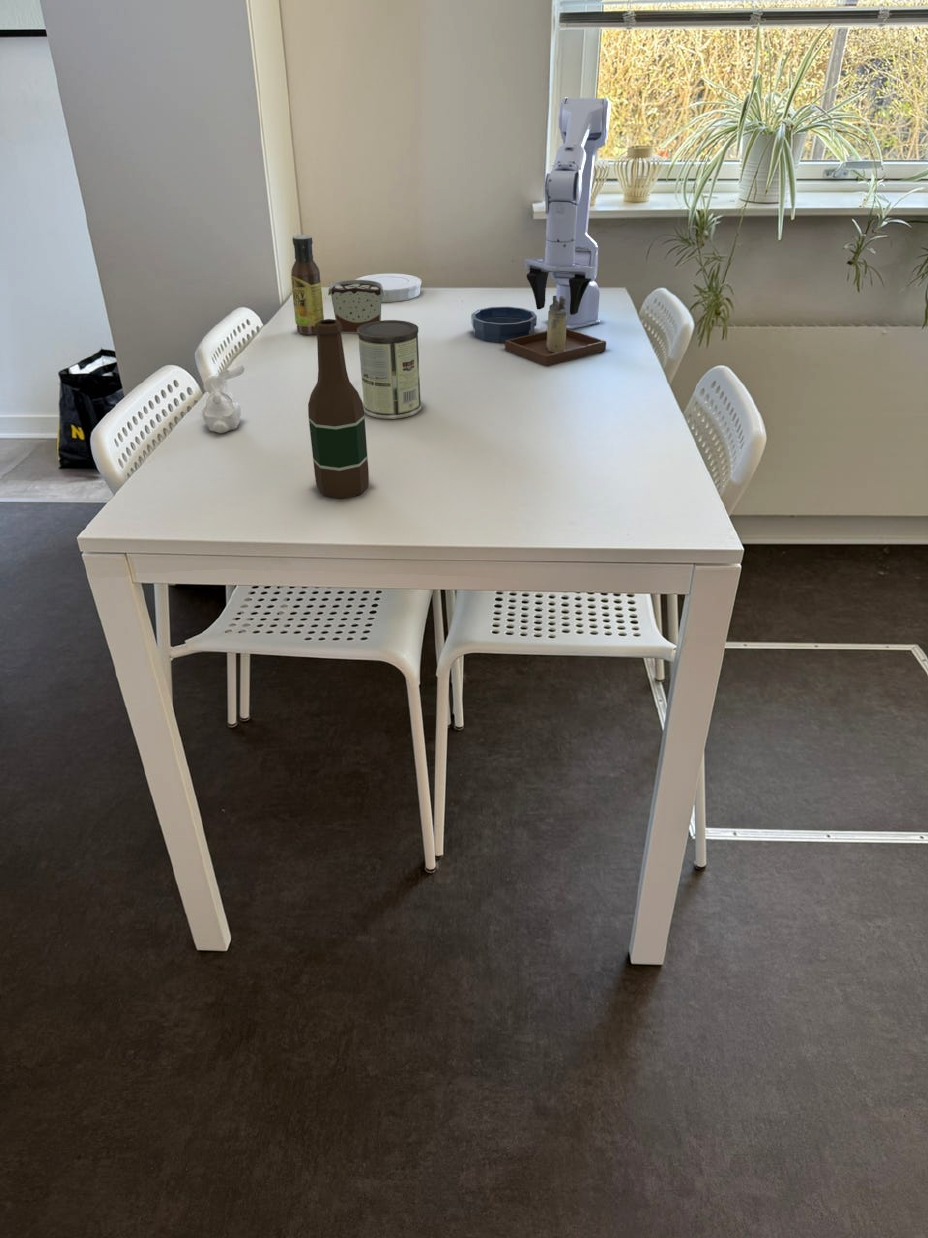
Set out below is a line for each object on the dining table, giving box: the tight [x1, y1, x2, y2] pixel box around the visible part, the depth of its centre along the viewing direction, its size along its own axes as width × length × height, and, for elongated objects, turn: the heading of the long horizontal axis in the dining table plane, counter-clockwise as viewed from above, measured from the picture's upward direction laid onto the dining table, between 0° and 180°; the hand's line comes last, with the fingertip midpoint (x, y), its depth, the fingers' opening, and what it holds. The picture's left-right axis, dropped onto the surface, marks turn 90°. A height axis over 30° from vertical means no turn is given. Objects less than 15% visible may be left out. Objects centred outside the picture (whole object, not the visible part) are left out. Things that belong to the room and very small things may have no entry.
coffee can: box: [356, 319, 422, 420], centre depth 153 cm, size 10×10×14 cm
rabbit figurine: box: [201, 363, 245, 434], centre depth 149 cm, size 12×8×10 cm, turn 9°
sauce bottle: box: [290, 234, 325, 336], centre depth 191 cm, size 6×6×20 cm
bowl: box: [470, 306, 538, 344], centre depth 193 cm, size 14×14×4 cm
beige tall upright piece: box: [546, 295, 567, 353], centre depth 181 cm, size 7×4×10 cm, turn 1°
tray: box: [504, 328, 607, 367], centre depth 184 cm, size 16×13×2 cm
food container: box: [327, 279, 385, 334], centre depth 195 cm, size 12×6×10 cm, turn 84°
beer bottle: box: [307, 318, 370, 499], centre depth 124 cm, size 8×8×24 cm
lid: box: [355, 273, 422, 303], centre depth 223 cm, size 17×20×3 cm
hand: (557, 310), depth 180 cm, fingers open, 7 cm apart
